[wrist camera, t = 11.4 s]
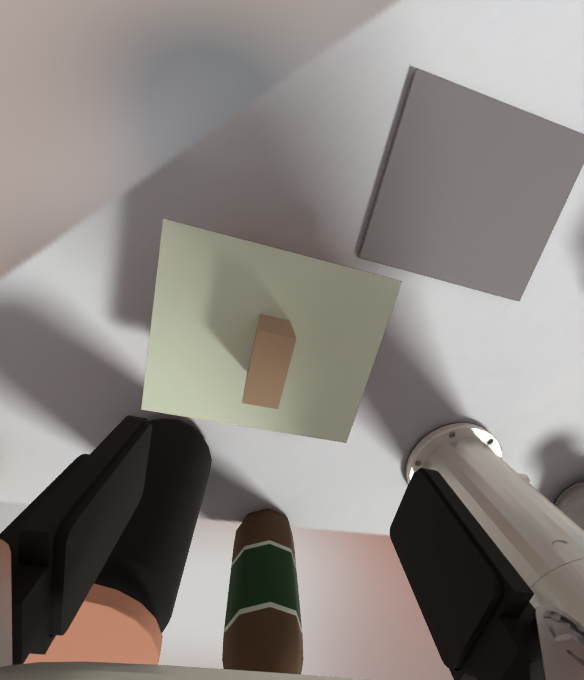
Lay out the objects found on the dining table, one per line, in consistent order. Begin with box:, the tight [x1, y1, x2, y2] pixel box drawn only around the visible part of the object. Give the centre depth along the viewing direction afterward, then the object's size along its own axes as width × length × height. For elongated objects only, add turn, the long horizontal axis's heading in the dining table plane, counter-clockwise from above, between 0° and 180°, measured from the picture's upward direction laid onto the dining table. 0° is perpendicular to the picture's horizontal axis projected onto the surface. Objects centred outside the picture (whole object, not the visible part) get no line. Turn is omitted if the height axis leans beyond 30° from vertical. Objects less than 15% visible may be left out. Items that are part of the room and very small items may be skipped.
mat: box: [358, 69, 584, 301], centre depth 28 cm, size 19×16×1 cm
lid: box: [141, 219, 402, 443], centre depth 20 cm, size 18×15×6 cm
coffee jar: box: [23, 419, 212, 665], centre depth 25 cm, size 11×11×18 cm
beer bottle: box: [222, 509, 303, 675], centre depth 27 cm, size 8×8×24 cm
